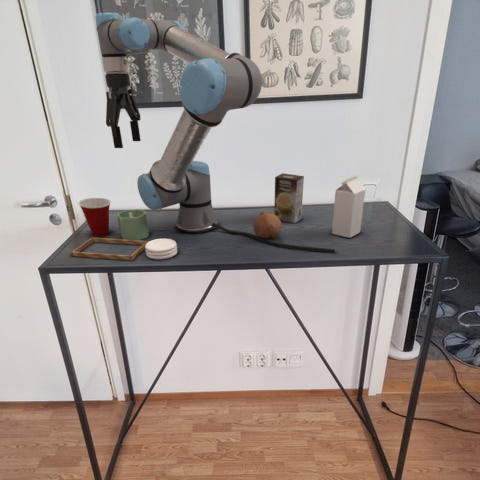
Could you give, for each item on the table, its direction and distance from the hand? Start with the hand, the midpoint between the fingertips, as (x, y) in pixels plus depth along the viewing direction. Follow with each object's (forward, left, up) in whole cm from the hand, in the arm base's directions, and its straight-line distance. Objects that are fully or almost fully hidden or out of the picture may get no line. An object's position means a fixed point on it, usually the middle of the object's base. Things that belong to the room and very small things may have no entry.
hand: (128, 144), depth 145 cm
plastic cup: (+10, +11, -29) cm, 33 cm away
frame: (-1, +25, -29) cm, 38 cm away
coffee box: (-54, -15, -29) cm, 63 cm away
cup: (-3, +11, -29) cm, 31 cm away
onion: (-50, +6, -29) cm, 58 cm away
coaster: (-19, +25, -29) cm, 43 cm away
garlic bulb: (-3, +11, -28) cm, 31 cm away
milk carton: (-76, -3, -29) cm, 81 cm away
